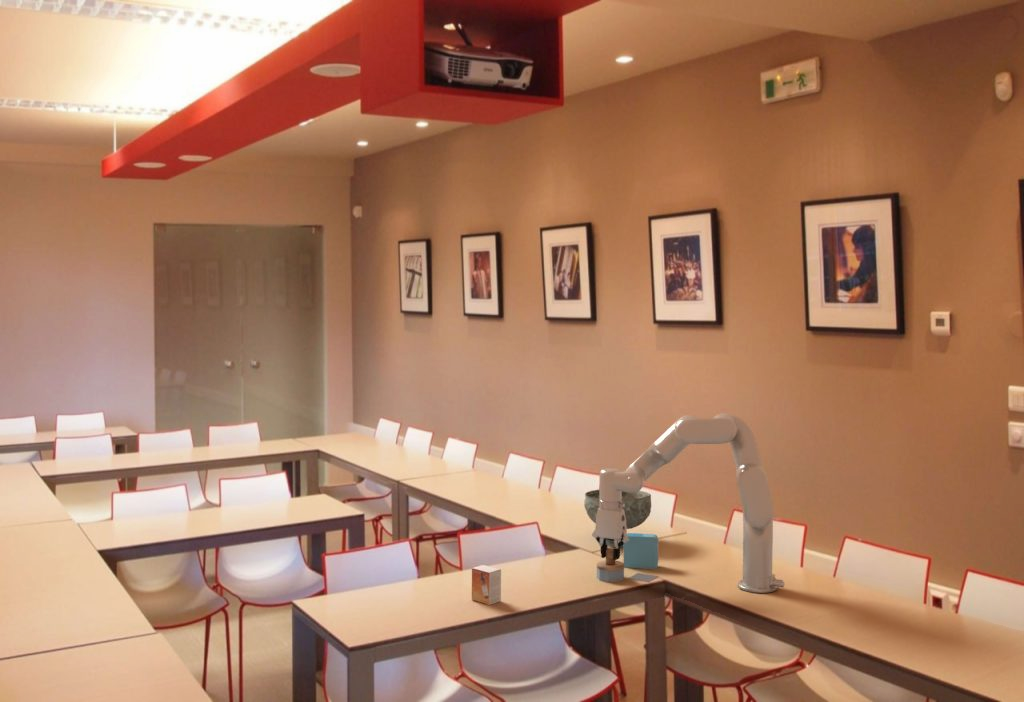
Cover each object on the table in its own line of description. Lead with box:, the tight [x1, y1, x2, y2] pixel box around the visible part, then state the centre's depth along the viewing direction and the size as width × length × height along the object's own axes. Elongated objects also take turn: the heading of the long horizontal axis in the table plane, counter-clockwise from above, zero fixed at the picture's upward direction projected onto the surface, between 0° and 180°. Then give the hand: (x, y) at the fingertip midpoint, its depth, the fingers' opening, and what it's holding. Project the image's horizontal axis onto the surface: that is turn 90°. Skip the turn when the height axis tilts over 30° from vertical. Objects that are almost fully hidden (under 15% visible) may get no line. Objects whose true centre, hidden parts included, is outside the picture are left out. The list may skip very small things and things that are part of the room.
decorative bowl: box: [583, 489, 652, 548], centre depth 386 cm, size 26×26×20 cm
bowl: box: [596, 567, 625, 583], centre depth 335 cm, size 9×9×4 cm
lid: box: [596, 547, 626, 571], centre depth 335 cm, size 10×10×6 cm
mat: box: [627, 572, 660, 583], centre depth 336 cm, size 8×8×1 cm
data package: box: [622, 532, 659, 570], centre depth 350 cm, size 12×4×12 cm, turn 79°
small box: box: [471, 564, 502, 606], centre depth 313 cm, size 8×6×10 cm
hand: (610, 557), depth 335 cm, fingers open, 4 cm apart
